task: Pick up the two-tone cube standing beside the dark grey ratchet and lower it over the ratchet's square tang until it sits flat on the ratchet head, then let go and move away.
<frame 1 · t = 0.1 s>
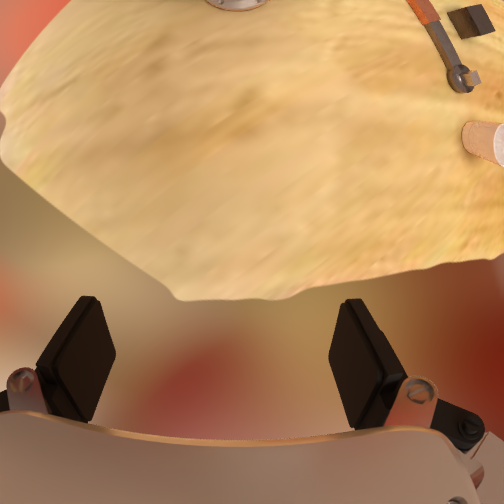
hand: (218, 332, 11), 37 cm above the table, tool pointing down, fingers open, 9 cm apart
two-tone cube: (461, 23, 31), on the table
ratchet: (438, 41, 34), on the table
peach tapered cup: (471, 137, 42), on the table
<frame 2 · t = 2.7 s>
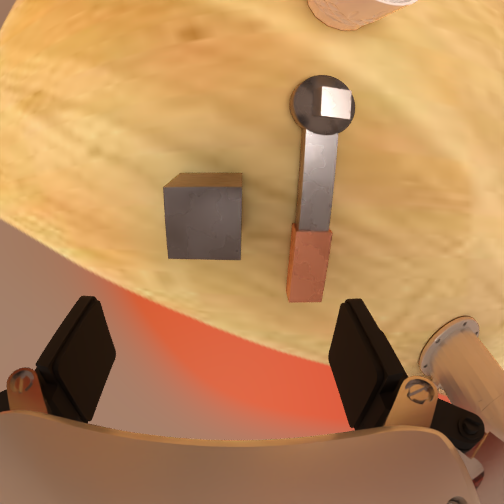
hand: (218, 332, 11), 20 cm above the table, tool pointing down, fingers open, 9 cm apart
two-tone cube: (211, 202, 29), on the table
ratchet: (313, 185, 28), on the table
peach tapered cup: (338, 4, 20), on the table
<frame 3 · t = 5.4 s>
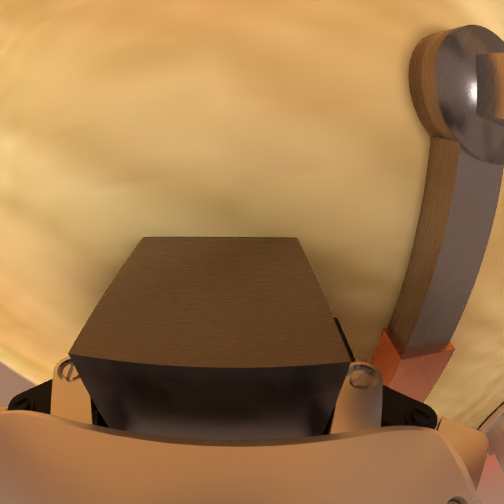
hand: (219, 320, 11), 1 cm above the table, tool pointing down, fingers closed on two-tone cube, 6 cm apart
two-tone cube: (220, 302, 12), on the table, touching gripper
ratchet: (432, 259, 12), on the table
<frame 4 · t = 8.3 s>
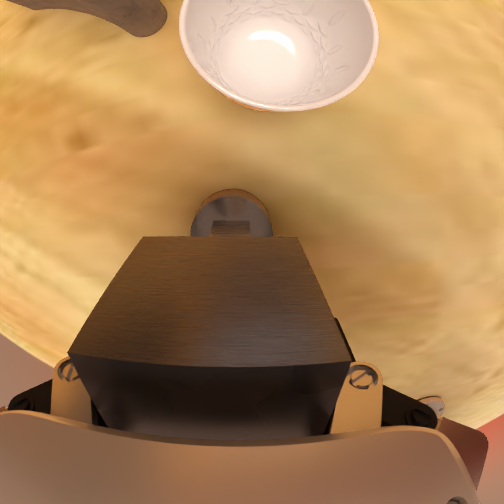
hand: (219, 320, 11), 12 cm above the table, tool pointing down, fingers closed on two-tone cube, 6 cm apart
two-tone cube: (220, 302, 12), point 11 cm above the table, touching gripper
ratchet: (232, 311, 26), on the table
peach tapered cup: (263, 66, 18), on the table
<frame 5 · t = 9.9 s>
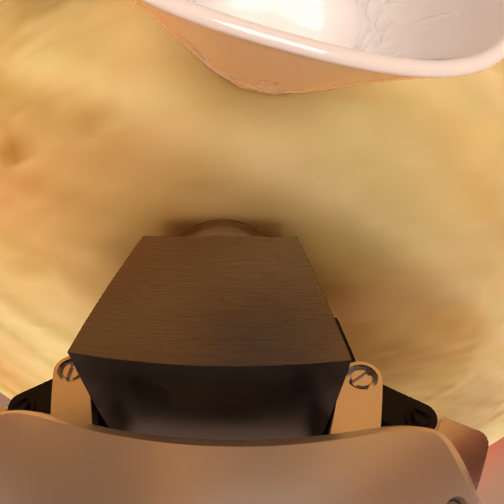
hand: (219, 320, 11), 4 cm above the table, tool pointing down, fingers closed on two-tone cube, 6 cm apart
two-tone cube: (220, 301, 12), point 3 cm above the table, touching gripper
ratchet: (227, 375, 18), on the table
peach tapered cup: (271, 28, 10), on the table
when the fingers open (4 cm above the table, at t = 11.2 s): two-tone cube stays where it is, resting on ratchet.
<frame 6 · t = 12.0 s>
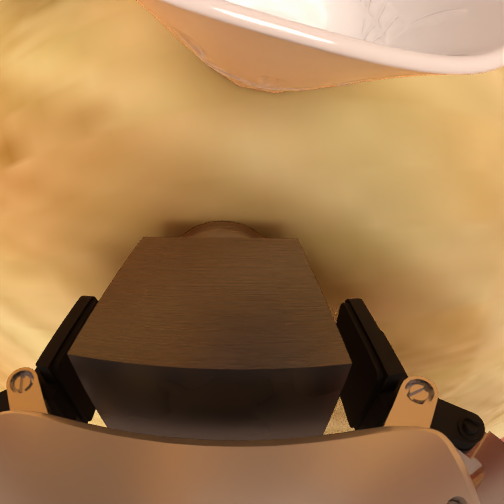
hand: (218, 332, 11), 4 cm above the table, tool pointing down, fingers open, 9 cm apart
two-tone cube: (220, 303, 12), point 2 cm above the table, touching ratchet
ratchet: (226, 379, 18), on the table, touching two-tone cube
peach tapered cup: (271, 25, 10), on the table
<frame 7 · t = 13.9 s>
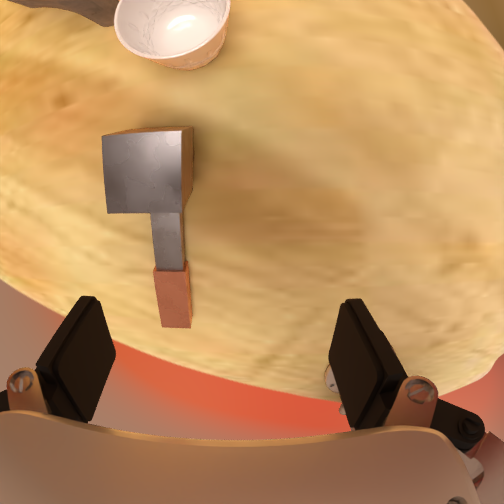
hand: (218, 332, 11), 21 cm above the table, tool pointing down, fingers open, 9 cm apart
hip flask: (73, 0, 18), on the table
two-tone cube: (160, 159, 25), point 2 cm above the table, touching ratchet
ratchet: (170, 228, 31), on the table, touching two-tone cube
peach tapered cup: (189, 40, 22), on the table
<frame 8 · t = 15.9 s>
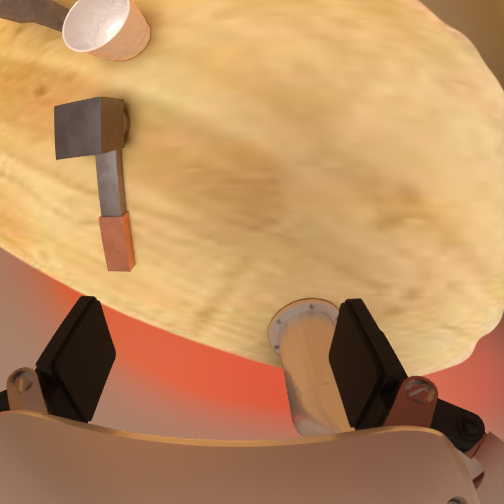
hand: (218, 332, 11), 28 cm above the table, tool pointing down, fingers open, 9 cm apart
hip flask: (49, 16, 23), on the table
two-tone cube: (102, 125, 30), point 2 cm above the table, touching ratchet
ratchet: (113, 183, 36), on the table, touching two-tone cube
peach tapered cup: (127, 38, 27), on the table
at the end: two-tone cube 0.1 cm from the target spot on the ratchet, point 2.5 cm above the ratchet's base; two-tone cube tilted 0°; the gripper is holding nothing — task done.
